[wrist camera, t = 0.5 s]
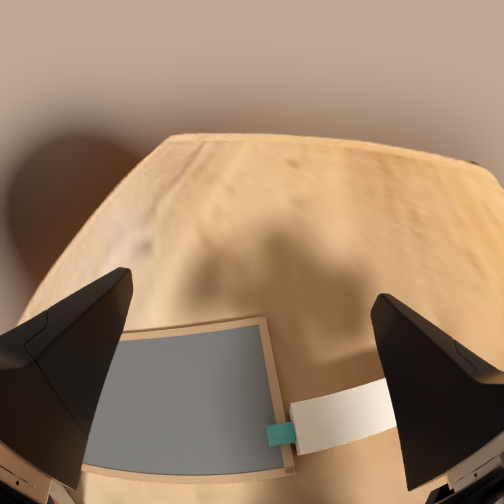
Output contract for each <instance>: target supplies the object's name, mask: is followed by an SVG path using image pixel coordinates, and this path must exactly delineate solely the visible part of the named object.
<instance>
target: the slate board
mask: <svg viewBox="0 0 504 504" xmlns="http://www.w3.org/2000/svg"><path fill="white" fill-rule="evenodd" d="M285 422H286V418H285V413H284V408H283V403H282V397H281V392H280V387H279V382H278V377H277V372H276V367H275V361H274V356H273V351H272V346H271V341H270V336H269V331H268V326H267V320H266V316H261V317H255V318H249V319H242V320H236V321H229V322H222V323H215V324H208V325H200V326H193V327H184V328H176V329H167V330H157V331H147V332H136V333H124V334H122V335H121V337H120V340H119V343H118V346H117V348H116V351H115V354H114V357H113V359H112V362H111V365H110V368H109V371H108V374H107V377H106V380H105V383H104V386H103V389H102V392H101V395H100V399H99V402H98V405H97V409H96V412H95V416H94V419H93V423H92V426H91V430H90V434H89V436H88V437H89V438H88V442H87V446H86V450H85V455H84V459H83V463H82V468H81V471H85V472H89V473H93V474H98V475H103V476H108V477H114V478H120V479H127V480H134V481H143V482H153V483H167V484H225V483H239V482H250V481H259V480H266V479H273V478H280V477H286V476H291V475H296V470H295V465H294V459H293V454H292V449H291V444H286V445H280V446H274V447H269V442H268V436H267V430H266V426H268V425H274V424H280V423H285Z"/></svg>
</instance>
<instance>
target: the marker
mask: <svg viewBox="0 0 504 504" xmlns="http://www.w3.org/2000/svg"><path fill="white" fill-rule="evenodd" d="M289 415H290V420H291V421H290V422H285V423H280V424H274V425H268V426H266V430H267V436H268V442H269V447H274V446H280V445H286V444H291V443H295V446H296V451H297V456H299V455H304V454H308V453H313V452H317V451H321V450H325V449H329V448H333V447H336V446H340V445H343V444H347V443H350V442H353V441H356V440H359V439H363V438H366V437H368V436H371V435H374V434H377V433H380V432H382V431H385V430H388V429H390V428H393V427H395V426H397V425H396V420H395V415H394V411H393V407H392V402H391V398H390V394H389V390H388V386H387V383H386V379H385V378H383V379H380V380H377V381H374V382H371V383H368V384H365V385H361V386H358V387H355V388H351V389H348V390H344V391H341V392H337V393H333V394H329V395H325V396H321V397H317V398H313V399H308V400H304V401H299V402H294V403H291V404H290V410H289Z"/></svg>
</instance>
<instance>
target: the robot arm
mask: <svg viewBox="0 0 504 504" xmlns="http://www.w3.org/2000/svg"><path fill="white" fill-rule="evenodd" d="M132 295H133V282H132V273H131V270H130V269H129V268H123V267H119V268H117V269H115V270H113V271H111V272H110V273H108V274H106V275H104V276H103V277H101V278H99V279H97V280H95V281H94V282H92V283H90V284H88V285H87V286H85V287H83V288H82V289H80V290H78V291H76V292H75V293H73V294H71V295H70V296H68V297H66V298H65V299H63V300H61V301H60V302H58V303H56V304H55V305H53V306H51V307H50V308H48V310H45V311H43V312H42V313H40V314H38V315H37V316H35V317H33V318H32V319H30V320H28V321H26V322H25V323H23V324H21V325H19V326H17V327H15V328H14V329H12V330H10V331H8V332H6V333H4V334H2V335H0V504H55V503H54V501H53V500H52V498H51V496H50V494H49V491H50V486H51V482H52V481H54V482H56V483H58V484H60V485H63V486H65V487H67V488H70V489H72V490H75V491H77V488H78V483H79V478H80V473H81V468H82V463H83V459H84V455H85V450H86V446H87V442H88V438H89V437H88V436H89V434H90V430H91V426H92V423H93V419H94V416H95V412H96V409H97V405H98V402H99V399H100V395H101V392H102V389H103V386H104V383H105V380H106V377H107V374H108V371H109V368H110V365H111V362H112V359H113V357H114V354H115V351H116V348H117V346H118V343H119V340H120V337H121V335H122V332H123V329H124V325H125V321H126V317H127V313H128V310H129V306H130V302H131V299H132ZM371 320H372V325H373V330H374V335H375V340H376V345H377V350H378V354H379V357H380V361H381V364H382V368H383V371H384V375H385V379H386V383H387V386H388V390H389V394H390V398H391V402H392V407H393V411H394V415H395V420H396V425H397V429H398V434H399V439H400V443H401V444H400V445H401V451H402V456H403V462H404V468H405V475H406V482H407V489H408V491H412V490H414V489H416V488H419V487H421V486H424V485H426V484H428V483H430V482H433V481H435V480H437V479H439V478H441V477H443V476H446V479H447V484H445V485H443V486H441V487H439V488H437V489H435V490H433V491H431V493H430V495H429V497H428V499H427V501H426V503H425V504H504V372H503V371H500V370H498V369H497V368H495V367H494V366H492V365H491V364H489V363H488V362H486V361H485V360H483V359H482V358H480V357H479V356H477V355H476V354H474V353H473V352H471V351H470V350H468V349H467V348H466V347H464V346H463V345H461V344H460V343H459V342H457V341H456V340H453V338H452V337H450V336H449V335H448V334H446V333H445V332H443V331H442V330H441V329H439V328H438V327H437V326H435V325H434V324H432V323H431V322H429V321H428V320H427V319H425V318H424V317H422V316H421V315H420V314H418V313H417V312H415V311H414V310H412V309H411V308H409V307H408V306H407V305H405V304H404V303H402V302H401V301H399V300H398V299H396V298H395V297H393V296H392V295H390V294H386V293H381V294H379V295H378V296H377V299H376V301H375V303H374V305H373V307H372V309H371Z"/></svg>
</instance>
